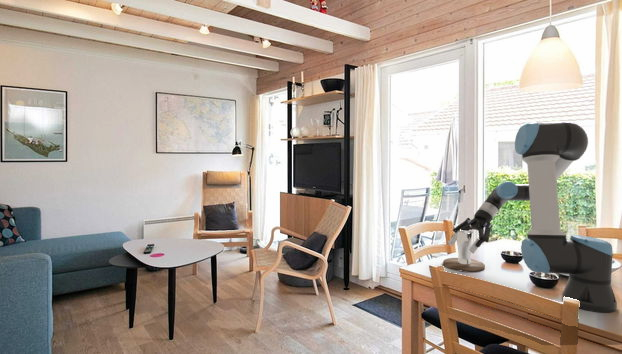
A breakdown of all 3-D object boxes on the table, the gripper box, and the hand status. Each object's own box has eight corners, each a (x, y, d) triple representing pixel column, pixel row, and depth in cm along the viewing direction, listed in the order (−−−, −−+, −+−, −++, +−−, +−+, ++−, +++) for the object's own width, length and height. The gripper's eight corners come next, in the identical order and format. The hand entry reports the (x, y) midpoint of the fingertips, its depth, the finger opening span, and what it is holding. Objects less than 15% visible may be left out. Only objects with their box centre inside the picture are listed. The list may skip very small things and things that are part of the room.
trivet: (492, 271, 162) (492, 269, 162) (452, 272, 162) (452, 269, 162) (474, 260, 180) (474, 257, 180) (437, 260, 180) (437, 257, 180)
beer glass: (474, 265, 167) (474, 233, 166) (458, 265, 168) (458, 233, 167) (470, 261, 173) (471, 230, 172) (455, 260, 175) (455, 229, 174)
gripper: (512, 223, 163) (485, 260, 159) (470, 215, 187) (446, 246, 182) (503, 212, 161) (476, 249, 157) (462, 205, 185) (437, 237, 180)
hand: (460, 248), depth 170 cm, fingers open, 13 cm apart
